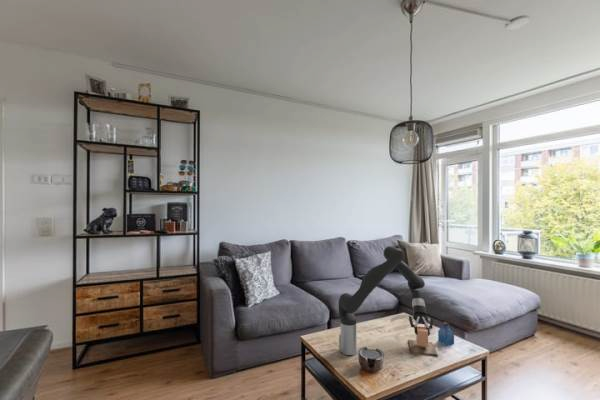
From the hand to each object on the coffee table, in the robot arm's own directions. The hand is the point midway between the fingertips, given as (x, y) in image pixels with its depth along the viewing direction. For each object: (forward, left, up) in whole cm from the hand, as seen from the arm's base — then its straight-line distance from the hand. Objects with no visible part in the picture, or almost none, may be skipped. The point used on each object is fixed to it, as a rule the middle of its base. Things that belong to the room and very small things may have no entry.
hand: (422, 334), depth 165 cm
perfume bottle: (+10, +18, -9) cm, 22 cm away
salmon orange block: (-1, +2, -6) cm, 6 cm away
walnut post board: (-1, +2, -9) cm, 9 cm away
